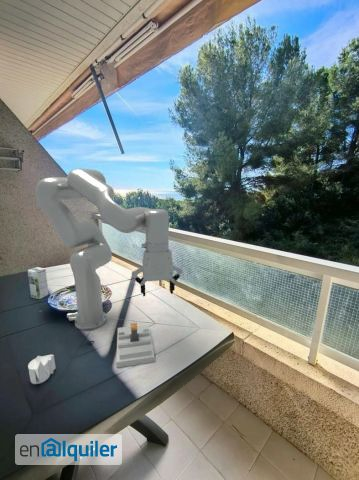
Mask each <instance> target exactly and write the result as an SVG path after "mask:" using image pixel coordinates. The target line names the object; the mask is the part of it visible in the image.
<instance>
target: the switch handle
mask: <svg viewBox="0 0 359 480" xmlns="http://www.w3.org/2000/svg"><path fill="white" fill-rule="evenodd" d="M130 326H131V334H130V342H134V341H139V334H137V326H138V323H137V322H132V323H130Z"/></svg>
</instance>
